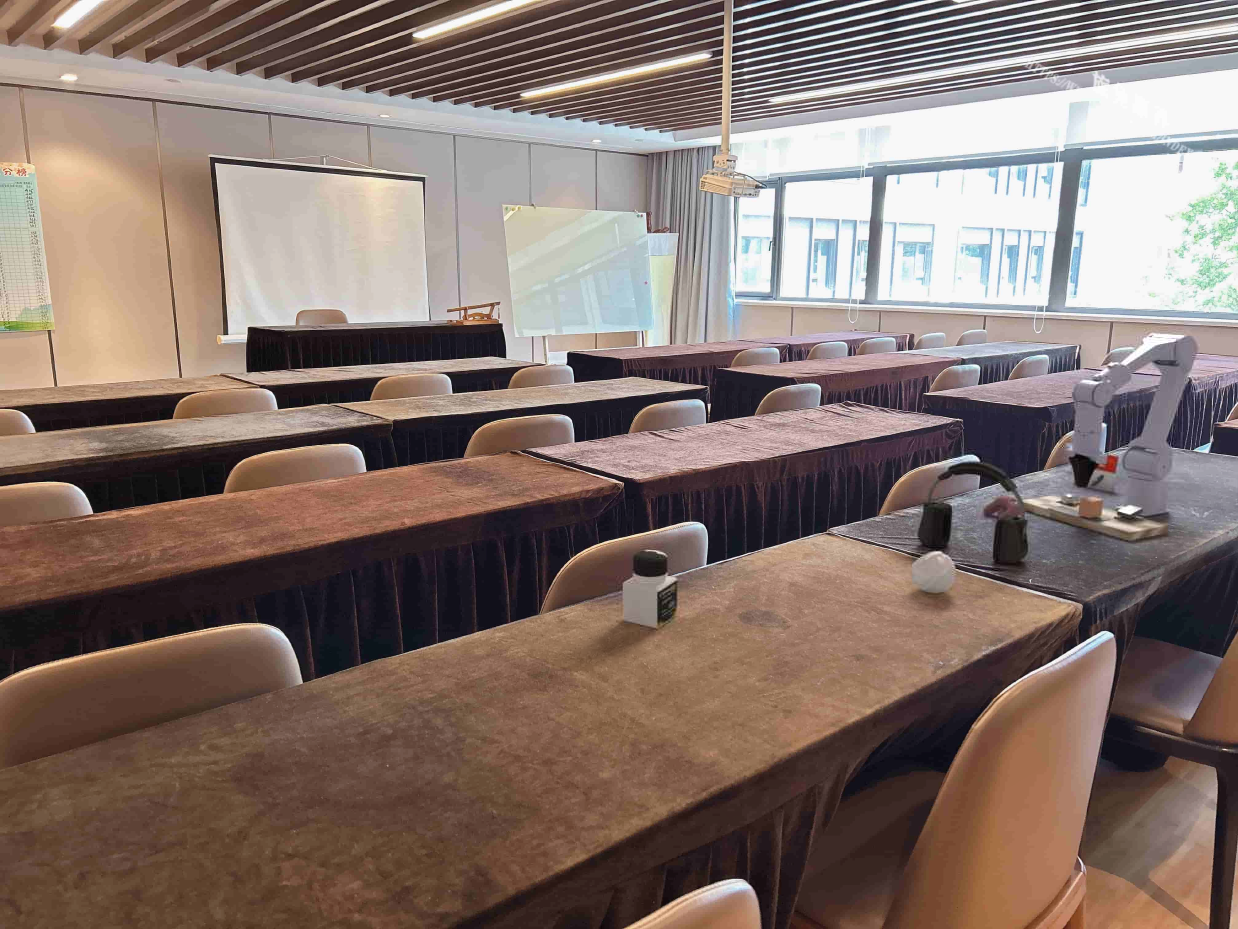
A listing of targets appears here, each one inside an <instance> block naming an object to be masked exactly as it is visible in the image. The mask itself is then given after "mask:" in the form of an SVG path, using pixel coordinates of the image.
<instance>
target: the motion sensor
mask: <svg viewBox="0 0 1238 929" xmlns="http://www.w3.org/2000/svg"><path fill="white" fill-rule="evenodd" d="M910 568H911V569H910V575H911V579H912V582H913V583H914V584H915V585H916V587H917V588H919V590H920V589H921V591H924V592H926V593H929V594H939V593H943V592H945V591H946V592H947V590H948V589H949V588H950V587H951V586H952V584H954V581H955V577H956V566H955V563H954V562H953V560H952V559H951V557H950V556H949V555H948V554H944V552H942V551H941V550H940V551H930V552H928V553H925V554H924V555H921V556H920V557H918V559H916V560H915V561H914V562H913V563H912V565H911V567H910Z"/></svg>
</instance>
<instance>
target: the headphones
mask: <svg viewBox="0 0 1238 929" xmlns="http://www.w3.org/2000/svg"><path fill="white" fill-rule="evenodd" d="M947 468H948V469H947V470H946V471H944V472H943V473H942V472H941V474H940V475H938V476H937V479H936V480H935V481H934V482H933V483H932V484H931V486H930V488H929V490H928V492H927V496H926V501H925V502H923V508H922V516H921V519H920V522H919V526H918V531H917V538H918V540H919V542H920V543H921V544H922V545H924V546H927V547H928V548H931V547H934V548H935V549H940V548H942V547H945V546H946V545H948V543H950V539H951V535H952V534H951V532H952V531H951V530H952V522H953V507H952V505H951V504H950V503H949V502H948V503H947V502H943V501H940V502H938V501H932V496H933V492H934V490H935V488H936V486H937V485H938V484H939V483H940V482H941V481H946V480H948V479H949V478H951V477H953V475H954V476H963V475H973V476H974V475H975V476H980V477H983V478H985V479H988V480H990V481H991V482H996V483H997V482H998V483H999V485H1001V487H1002V488H1003V489H1004V490H1005V491H1006V492H1007V493H1009V492H1011V493H1012V494H1013V495H1014V498H1015V499H1017V501H1018V503H1019V506H1020V515H1019V516H1015V515H1005V516H1003V517H1001V518H999V517H998V518H999V519H997V520H996V522H995V525H994V533H993V534H994V535H993V544H992V546H993V547H992V559H993V561H995V562H997V563H1000V564H1003V565H1004V564H1007V565H1013V564H1017V563H1019V562H1020V561H1022V560H1023V559H1025V557H1026V556H1027V555H1028V553H1029V542H1028V534H1027V531H1028V530H1027V529H1028V519H1026V511H1025V508H1024V503H1023V501H1022V500H1023V499H1022V497H1021V495H1020V493H1019V492H1018V490H1017V488H1018V486H1017V484H1016V483H1015V482H1014V481H1013V480H1012V479H1011V478H1010V477H1009V476H1008V473H1006V472H1005V471H1003V470H1002V469H1000V468H999V467H997V466H995V465H993V464H990V463H986V462H983V461H976V460H973V461H972V460H970V461H969V460H968V461H963V462H962V461H961V462H959V463H955V464H953V465H950V466H948V467H947Z"/></svg>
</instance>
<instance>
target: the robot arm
mask: <svg viewBox="0 0 1238 929" xmlns="http://www.w3.org/2000/svg"><path fill="white" fill-rule="evenodd" d="M1198 351H1199V346H1198V343H1197V342H1196V339H1195V338H1194V337H1193V336H1192V335H1190V334H1188V335H1187V334H1186V335H1180V334H1167V333H1166V334H1165V333H1159V332H1158V333H1157V332H1154V333H1150V334H1149V335H1147V337H1145V338H1143V339H1142V341H1141V344H1140V346H1139V347H1138V348H1137V349H1136V350H1135V351H1134V352H1133V353H1131V354H1130V355H1128V356H1127V357H1126V358H1125V359H1124V360H1123V361H1121V362H1110V363H1108V364H1107V365H1106V367H1105V368H1103V369H1102V370H1101V371H1100V372H1098V373H1096V374H1093V376H1092V377H1091V378H1090V379H1089V380H1088V379H1083V380H1081V381H1079V382H1078V383H1077V384H1075V386H1074V389H1073V391H1071V398H1072V400H1073V403H1074V404H1073V405H1074V406H1073V408H1074V411H1075V418H1074V420H1075V421H1074V427H1073V428H1074V429H1073V436H1072V443H1071V442H1070V443H1068V442H1067V443H1064V444H1065V445H1064V452H1066V453H1071V454H1074V455H1073V456H1068V462H1069V463H1070V466H1071V469H1072V472H1073V479H1074V478H1075V484H1074V485H1075V487H1077V488H1088V487H1087V486H1088V483H1089V481H1090V479H1091V476H1092V474H1093V472H1094V471H1095V469H1096V468H1097V467H1098V465H1099V464H1106V463H1107V455H1108V454H1107V455H1105V454H1106V453H1104V452H1103V451H1102V450H1100V448H1101V439H1102V430H1103V420H1104V414H1105V406H1107V405H1109V403H1110V402H1111V401H1112V399H1113V396H1114V395H1115V393H1116V392H1117V391H1118V390H1120V389H1121V388H1123V387H1124V386H1125V385H1127V384H1128V383H1130V382H1131V380H1132V375H1133V374H1134V373H1136V372H1138V371H1139V370H1140V369H1142V368H1145V366H1147V365H1149V364H1152V365H1153V366H1154V367H1155V368H1156V369H1157V370H1159V372H1160V379H1159V382H1158V385H1157V388H1156V391H1155V393H1154V397H1153V399H1152V402H1151V407H1150V409H1149V412H1148V414H1147V418H1146V420H1145V423H1144V427H1143V428H1142V429H1143V430H1142V432H1141V434H1140V436H1138V437H1136V438H1134V439H1132V440H1131V441H1130V442H1129V443H1128V447H1127V448H1126V450H1125V451H1124V452H1123V454H1122V456H1121V459H1120V463H1121V464H1120V465H1121V467H1122V469H1123V470H1124V475H1127V478H1126V485H1125V492H1124V493H1125V494H1124V501H1123V505H1119V506H1115V507H1114V509H1116V510H1117V511H1118V510H1120V509H1122V508H1125V507H1127V506H1129V505H1131V506H1135V507H1139V508H1143V513H1141V514H1139V515H1138V516H1140V517H1149V516H1153V515H1154V516H1155V515H1160V514H1165V513H1169V512H1170V510H1169V509H1167V504H1168V497H1169V496H1168V495H1169V489H1170V486H1169V482H1168V480H1167V479H1166V477H1167V476H1168V475H1169V474H1170V472H1171V470H1172V468H1173V458H1174V453H1175V451H1174V449H1173V448H1172V447H1171V446H1170V445H1169V443H1168V441H1167V438H1168V437H1169V436H1168V435H1169V432H1170V430H1171V427H1172V425H1173V421H1174V418H1175V416H1176V413H1177V410H1178V407H1179V404H1180V401H1181V399H1182V396H1183V392H1184V388H1185V386H1186V383H1187V380H1188V377H1189V375H1190V372H1191V371H1192V368H1193V365H1194V363H1195V361H1196V357H1197V354H1198Z"/></svg>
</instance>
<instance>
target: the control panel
mask: <svg viewBox="0 0 1238 929" xmlns="http://www.w3.org/2000/svg"><path fill="white" fill-rule="evenodd" d="M1022 501H1023V503H1024V508H1025V510H1026V511H1025V512H1029V511H1030V512H1029V513H1032V512H1033V513H1032V514H1037V515H1039V514H1040V515H1039V516H1042V515H1044V516H1043V517H1046V516H1047V518H1049V517H1050V518H1049V519H1053V518H1054V519H1053V520H1056V519H1057V520H1056V521H1059V520H1060V522H1063V523H1066V522H1067V523H1066V524H1069V523H1070V524H1071V525H1074V526H1077V527H1080V526H1081V527H1080V528H1083V529H1086V528H1087V530H1090V531H1093V530H1094V532H1097V533H1100V532H1101V533H1100V534H1105V535H1108V536H1110V537H1114V538H1117V539H1120V538H1121V539H1122V540H1124V541H1127V540H1128V542H1131V540H1132V541H1136V539H1137V540H1140V539H1139V538H1142V539H1146V538H1145V537H1147V538H1150V536H1152V537H1156V536H1155V535H1158V536H1161V535H1160V534H1163V535H1166V534H1167V535H1168V530H1169V525H1168V524H1165V523H1161V522H1158V521H1154V520H1149V519H1146V518H1145V517H1144V516H1140V515H1137V516H1135V517H1133V518H1130V519H1129V518H1126V517H1122V516H1118V515H1117V511H1118V510H1113V509H1110V508H1105V507H1102V515H1101V516H1099V517H1093V518H1087V517H1084V516H1080V515H1078V512H1079V503H1080V500H1078V505H1077V506H1067V505H1064V504H1060V503H1061V496H1059V495H1056V494H1053V495H1047V496H1042V497H1041V496H1040V497H1035V498H1029V499H1022ZM1070 524H1069V525H1070Z"/></svg>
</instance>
